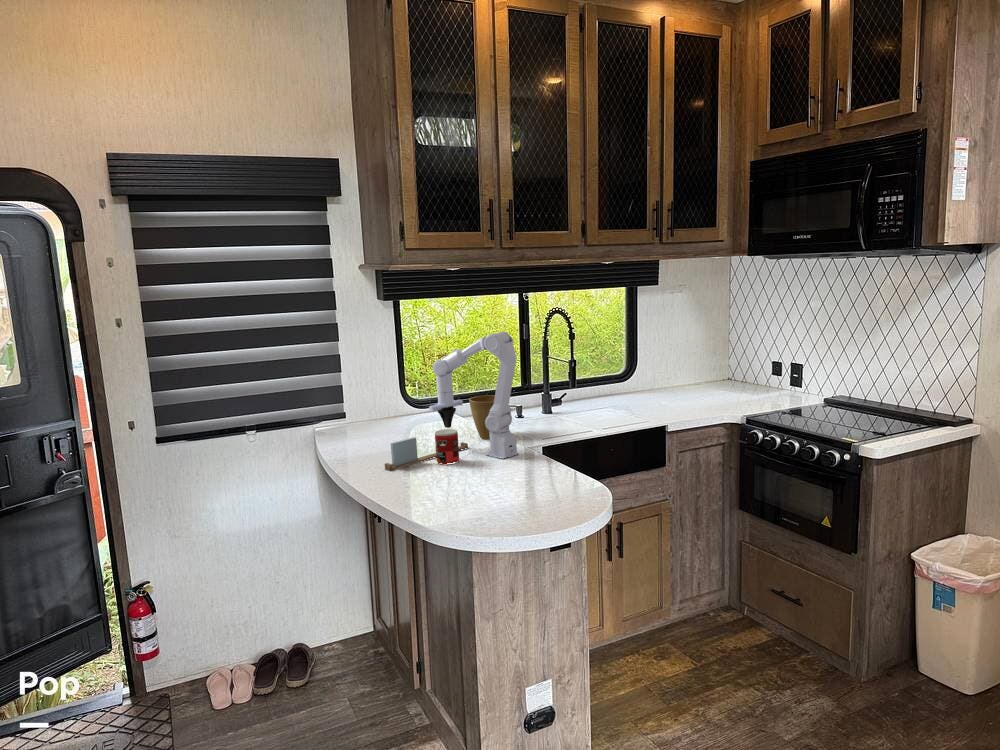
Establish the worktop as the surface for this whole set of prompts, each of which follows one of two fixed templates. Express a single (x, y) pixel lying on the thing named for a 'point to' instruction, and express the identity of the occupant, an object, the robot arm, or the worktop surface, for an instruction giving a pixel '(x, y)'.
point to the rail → (420, 459)
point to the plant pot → (481, 413)
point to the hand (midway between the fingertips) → (447, 427)
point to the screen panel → (404, 451)
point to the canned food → (447, 446)
